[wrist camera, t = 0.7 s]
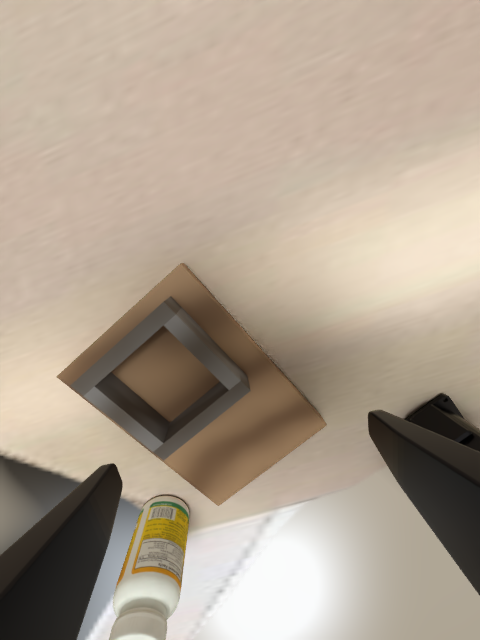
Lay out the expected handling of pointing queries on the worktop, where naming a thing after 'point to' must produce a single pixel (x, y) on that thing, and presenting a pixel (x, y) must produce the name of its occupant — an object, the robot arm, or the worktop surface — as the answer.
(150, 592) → the supplement bottle
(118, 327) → the socket board
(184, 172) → the worktop surface
